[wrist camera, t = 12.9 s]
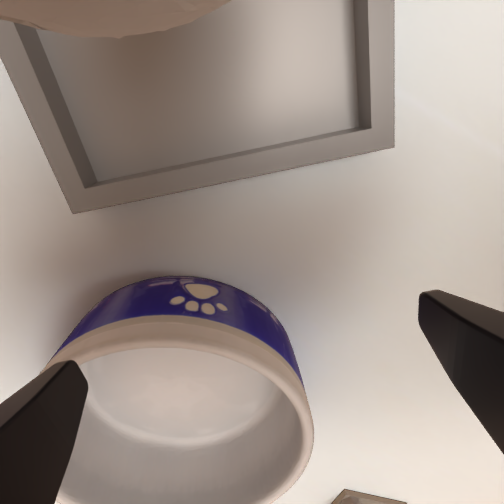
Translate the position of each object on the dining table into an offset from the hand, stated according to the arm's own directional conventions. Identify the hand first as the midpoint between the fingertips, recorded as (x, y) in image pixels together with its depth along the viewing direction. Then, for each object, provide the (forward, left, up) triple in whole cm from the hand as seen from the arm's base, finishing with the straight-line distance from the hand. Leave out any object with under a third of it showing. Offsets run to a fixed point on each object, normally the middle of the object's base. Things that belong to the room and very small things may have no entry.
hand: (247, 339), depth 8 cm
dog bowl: (-10, +6, -10) cm, 16 cm away
